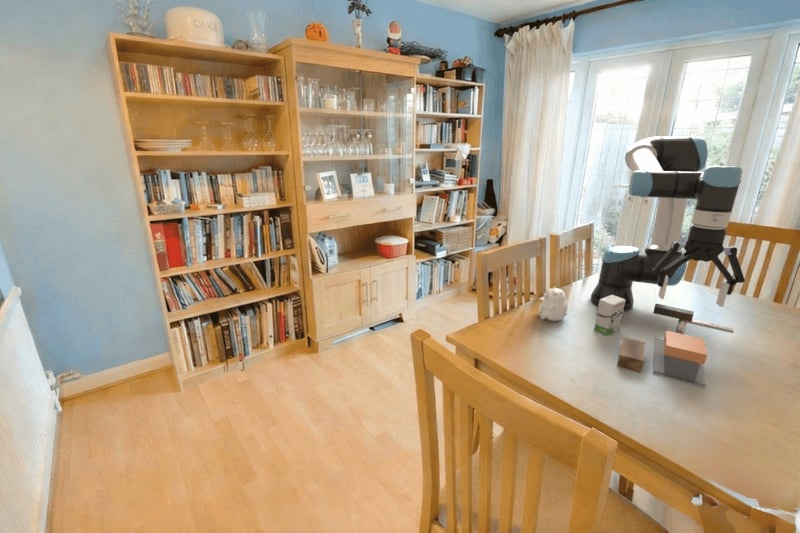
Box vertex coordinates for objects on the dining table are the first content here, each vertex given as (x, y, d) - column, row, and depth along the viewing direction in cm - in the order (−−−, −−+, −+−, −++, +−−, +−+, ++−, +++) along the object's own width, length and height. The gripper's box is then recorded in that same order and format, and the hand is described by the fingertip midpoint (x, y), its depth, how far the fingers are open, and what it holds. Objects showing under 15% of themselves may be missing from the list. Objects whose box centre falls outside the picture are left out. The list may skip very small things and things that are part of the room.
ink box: (607, 336, 127) (613, 304, 123) (592, 330, 131) (598, 299, 127) (620, 329, 131) (626, 298, 127) (606, 323, 135) (612, 293, 131)
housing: (653, 372, 107) (657, 354, 105) (654, 338, 126) (658, 322, 124) (705, 387, 101) (711, 368, 99) (698, 348, 119) (703, 331, 117)
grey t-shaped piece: (725, 357, 112) (736, 324, 109) (647, 337, 124) (654, 306, 120) (725, 353, 114) (735, 320, 111) (648, 333, 126) (655, 303, 122)
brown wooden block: (616, 366, 110) (619, 354, 109) (620, 348, 120) (622, 337, 119) (640, 372, 107) (643, 360, 106) (642, 353, 117) (644, 342, 115)
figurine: (562, 313, 144) (566, 284, 140) (570, 325, 135) (575, 294, 131) (535, 312, 145) (539, 283, 141) (542, 324, 136) (545, 293, 132)
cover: (664, 354, 105) (666, 345, 104) (663, 339, 113) (666, 330, 112) (704, 364, 101) (707, 355, 100) (701, 347, 108) (703, 338, 108)
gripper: (656, 225, 100) (640, 298, 106) (777, 233, 91) (751, 313, 97) (650, 220, 107) (636, 290, 113) (762, 227, 97) (740, 303, 104)
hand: (689, 301), depth 105 cm, fingers open, 13 cm apart
